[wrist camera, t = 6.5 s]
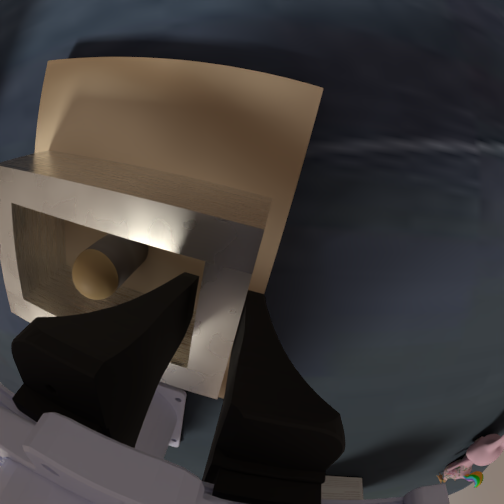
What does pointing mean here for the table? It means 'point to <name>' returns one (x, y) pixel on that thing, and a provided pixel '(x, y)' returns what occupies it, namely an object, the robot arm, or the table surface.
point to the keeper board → (175, 150)
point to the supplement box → (342, 488)
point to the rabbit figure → (475, 459)
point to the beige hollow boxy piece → (137, 229)
